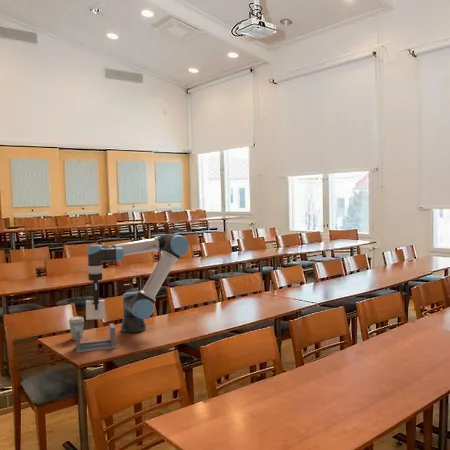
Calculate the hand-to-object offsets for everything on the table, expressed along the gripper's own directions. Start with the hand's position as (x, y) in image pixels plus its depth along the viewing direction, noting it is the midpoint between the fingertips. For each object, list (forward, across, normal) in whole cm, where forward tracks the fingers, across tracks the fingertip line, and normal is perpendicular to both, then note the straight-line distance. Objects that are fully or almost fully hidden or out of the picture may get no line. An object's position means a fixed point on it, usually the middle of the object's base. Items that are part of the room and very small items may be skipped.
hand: (96, 314), depth 268 cm
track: (+16, +9, -1) cm, 18 cm away
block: (+2, 0, 0) cm, 2 cm away
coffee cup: (+16, -12, -10) cm, 23 cm away
